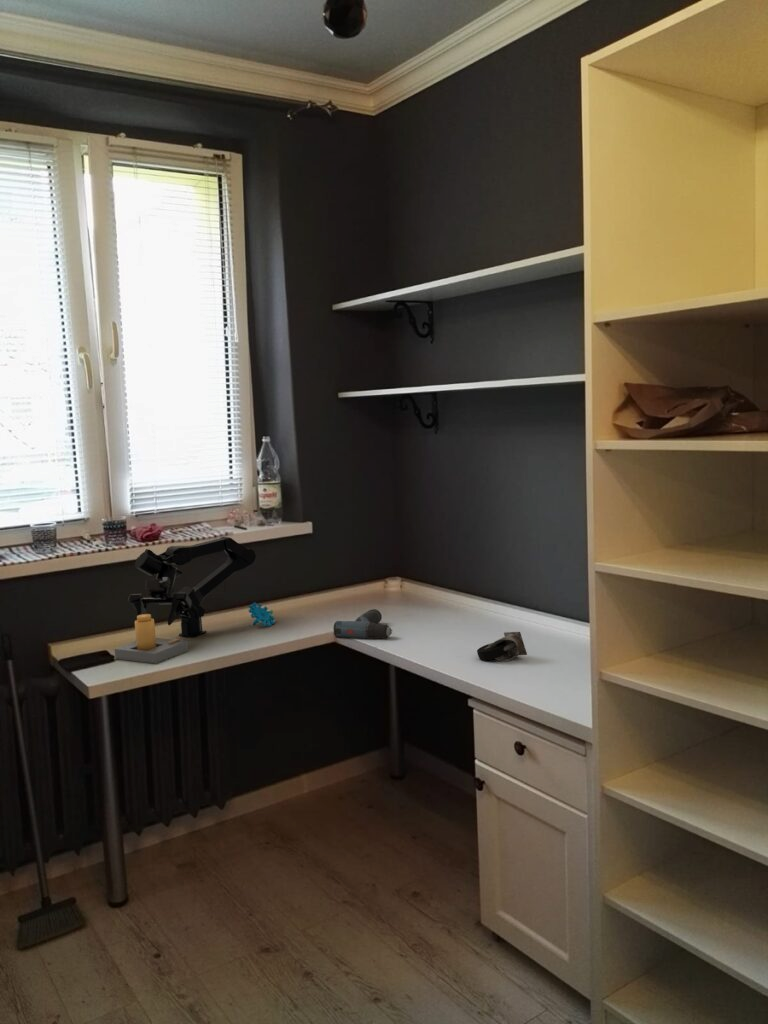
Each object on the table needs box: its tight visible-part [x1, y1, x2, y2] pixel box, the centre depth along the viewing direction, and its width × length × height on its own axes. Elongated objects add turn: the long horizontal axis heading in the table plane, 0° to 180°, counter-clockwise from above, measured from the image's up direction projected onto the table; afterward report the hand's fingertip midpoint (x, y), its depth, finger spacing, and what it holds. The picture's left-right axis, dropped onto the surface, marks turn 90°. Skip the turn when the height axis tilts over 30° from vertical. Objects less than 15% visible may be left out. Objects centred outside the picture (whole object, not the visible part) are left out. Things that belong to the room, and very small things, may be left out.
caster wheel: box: [476, 631, 528, 663], centre depth 237 cm, size 7×11×10 cm
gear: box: [248, 602, 275, 627], centre depth 291 cm, size 11×6×10 cm
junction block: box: [114, 637, 189, 664], centre depth 261 cm, size 14×16×4 cm
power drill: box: [332, 608, 393, 639], centre depth 274 cm, size 5×19×20 cm
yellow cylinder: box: [134, 613, 157, 651], centre depth 259 cm, size 6×6×12 cm
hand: (154, 625), depth 265 cm, fingers open, 9 cm apart
